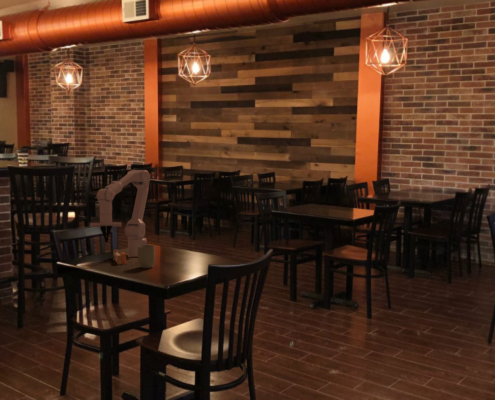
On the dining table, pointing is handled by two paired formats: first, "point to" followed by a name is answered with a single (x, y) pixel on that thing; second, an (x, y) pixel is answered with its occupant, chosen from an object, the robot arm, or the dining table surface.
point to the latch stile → (123, 258)
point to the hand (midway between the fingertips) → (106, 241)
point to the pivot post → (114, 252)
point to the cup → (146, 256)
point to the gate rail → (118, 258)
